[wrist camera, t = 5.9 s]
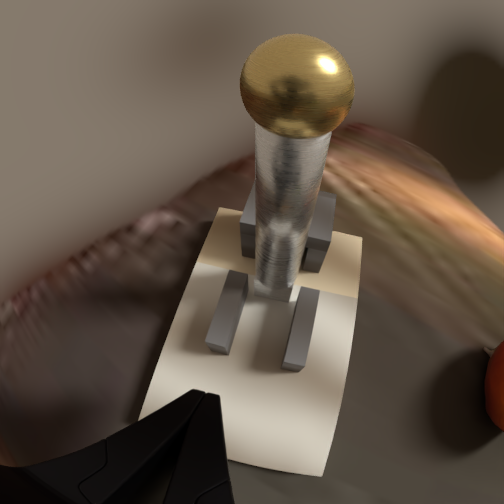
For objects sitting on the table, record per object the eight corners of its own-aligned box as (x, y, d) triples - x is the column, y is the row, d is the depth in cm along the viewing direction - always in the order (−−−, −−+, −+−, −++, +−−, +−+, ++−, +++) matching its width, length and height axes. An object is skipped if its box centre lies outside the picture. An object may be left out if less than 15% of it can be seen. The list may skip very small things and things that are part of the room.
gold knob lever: (294, 316, 16) (368, 65, 4) (242, 303, 16) (218, 46, 5) (311, 234, 19) (355, 21, 7) (266, 224, 19) (273, 9, 8)
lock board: (316, 471, 12) (339, 491, 8) (146, 425, 14) (107, 425, 9) (356, 249, 20) (378, 204, 16) (221, 220, 21) (214, 171, 17)
